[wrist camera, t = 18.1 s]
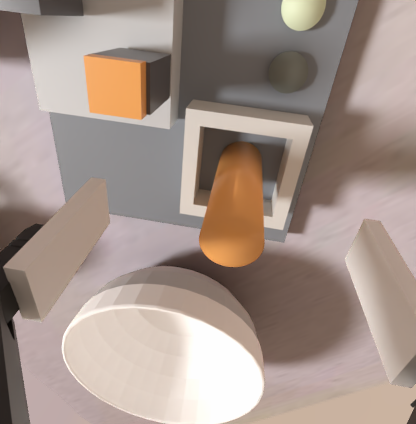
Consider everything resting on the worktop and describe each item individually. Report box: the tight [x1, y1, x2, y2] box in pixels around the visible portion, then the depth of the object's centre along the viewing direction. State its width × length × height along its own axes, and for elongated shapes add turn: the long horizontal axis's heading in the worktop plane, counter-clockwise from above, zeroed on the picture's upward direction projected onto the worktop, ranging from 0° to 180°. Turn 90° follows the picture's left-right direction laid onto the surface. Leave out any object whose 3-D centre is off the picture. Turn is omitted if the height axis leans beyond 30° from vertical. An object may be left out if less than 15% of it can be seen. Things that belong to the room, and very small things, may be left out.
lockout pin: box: [199, 141, 264, 267], centre depth 19 cm, size 3×3×10 cm
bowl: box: [62, 266, 265, 424], centre depth 31 cm, size 19×19×9 cm
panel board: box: [20, 0, 359, 242], centre depth 21 cm, size 20×20×4 cm
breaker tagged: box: [83, 48, 171, 120], centre depth 16 cm, size 2×3×5 cm
